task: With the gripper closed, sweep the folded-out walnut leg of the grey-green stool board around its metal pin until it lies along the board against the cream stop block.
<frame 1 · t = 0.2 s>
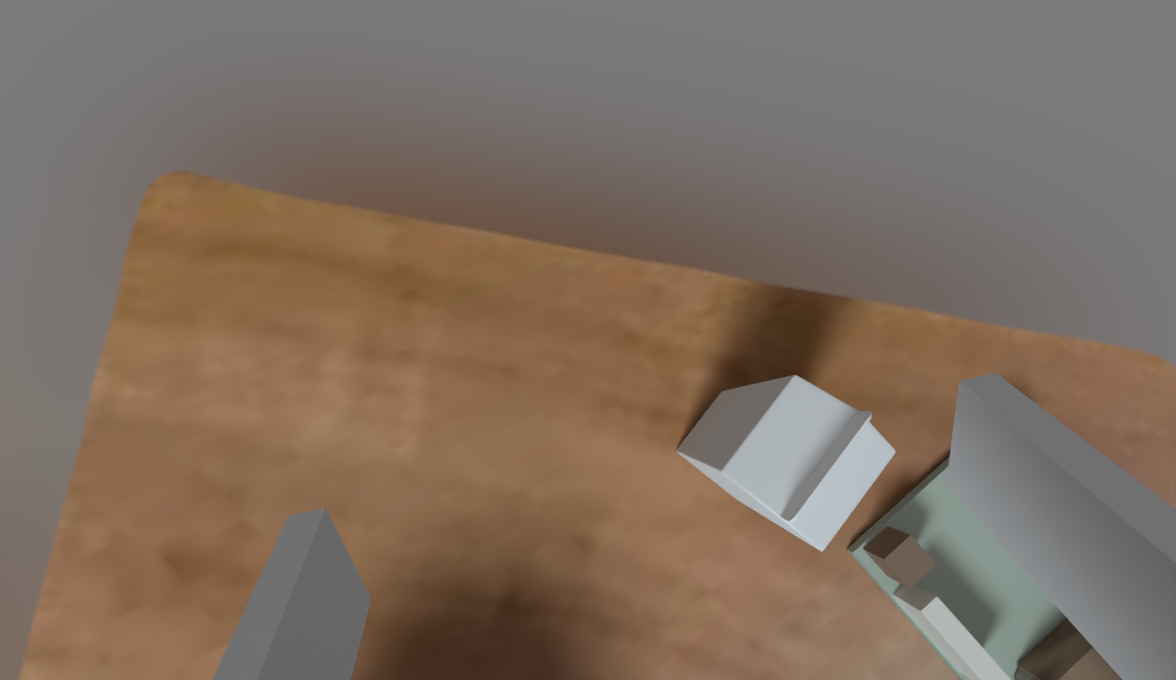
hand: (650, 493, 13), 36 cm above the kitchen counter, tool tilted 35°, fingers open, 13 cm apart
hinged leg: (1099, 647, 43), point 3 cm above the kitchen counter, hinge at -90.0°
stool seat: (999, 572, 46), on the kitchen counter
milk: (728, 444, 48), on the kitchen counter
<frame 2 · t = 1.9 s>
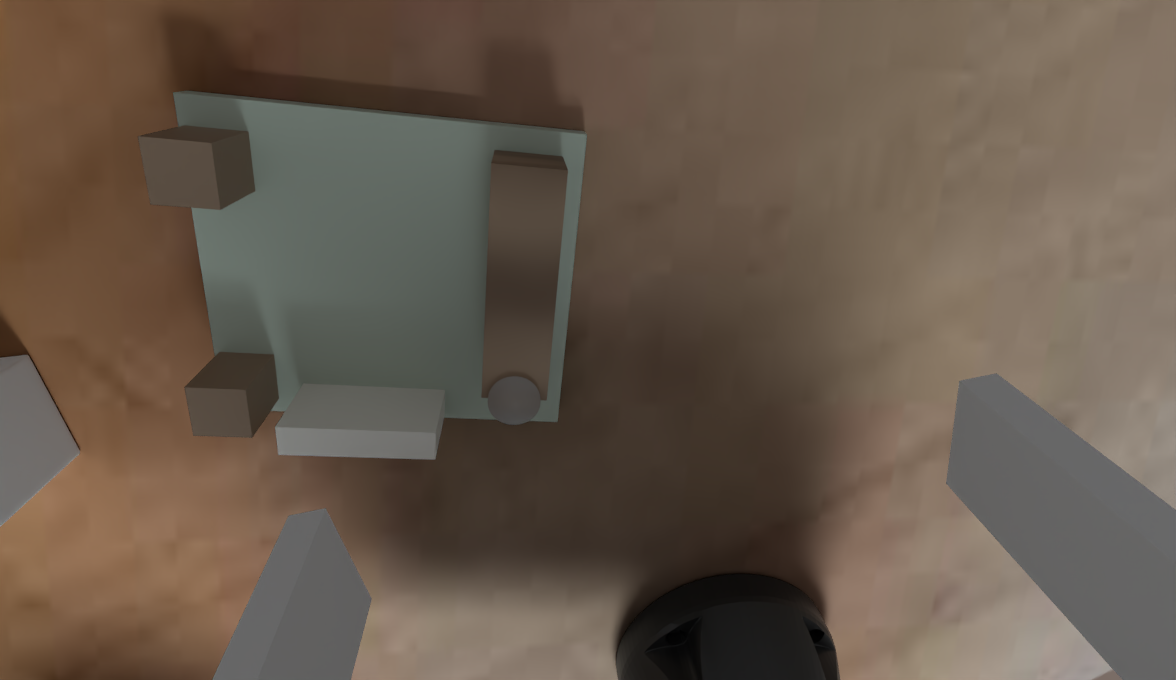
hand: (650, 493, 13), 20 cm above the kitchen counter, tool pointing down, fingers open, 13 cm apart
hinged leg: (520, 292, 28), point 3 cm above the kitchen counter, hinge at -90.0°
stool seat: (397, 272, 31), on the kitchen counter
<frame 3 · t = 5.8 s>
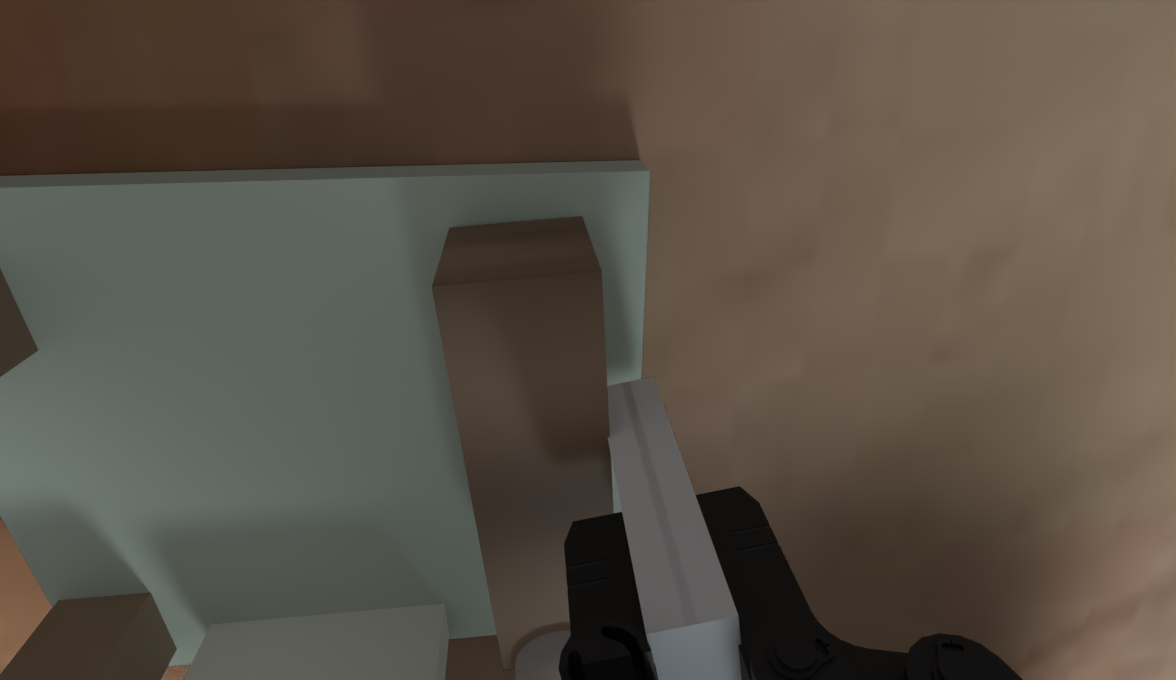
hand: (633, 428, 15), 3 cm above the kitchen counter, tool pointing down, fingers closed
hinged leg: (543, 478, 15), point 3 cm above the kitchen counter, hinge at -86.8°, touching gripper
stool seat: (337, 435, 18), on the kitchen counter
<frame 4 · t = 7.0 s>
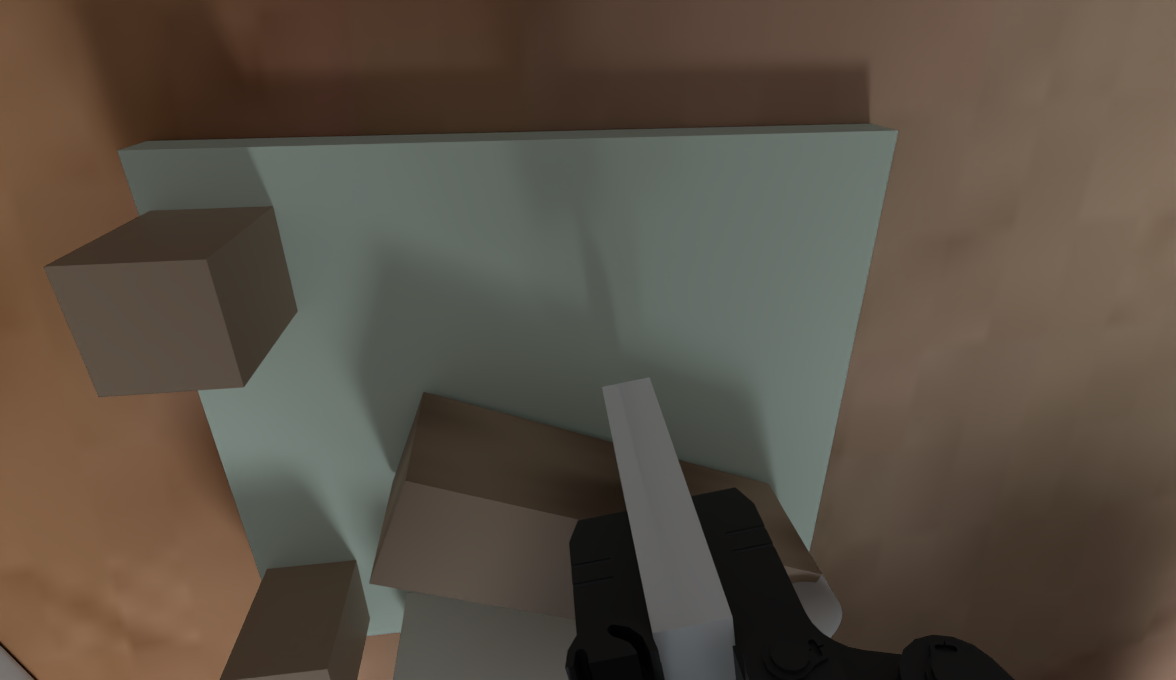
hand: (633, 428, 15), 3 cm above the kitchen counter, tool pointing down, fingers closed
hinged leg: (620, 534, 16), point 3 cm above the kitchen counter, hinge at -22.6°, touching gripper
stool seat: (544, 401, 18), on the kitchen counter
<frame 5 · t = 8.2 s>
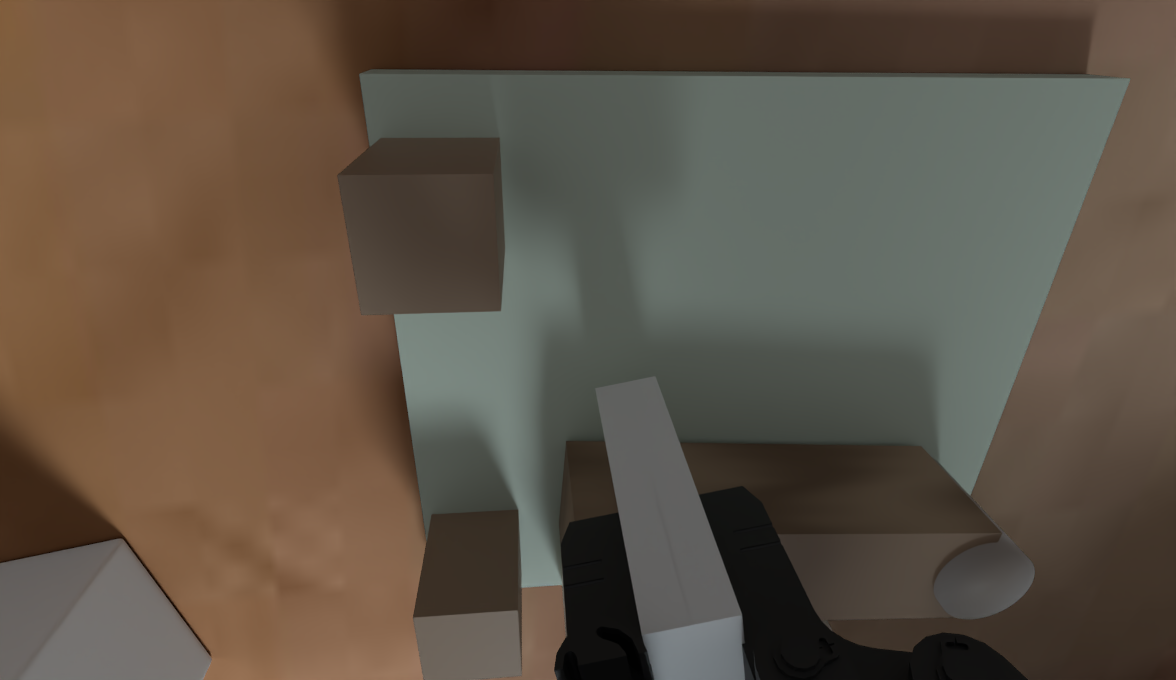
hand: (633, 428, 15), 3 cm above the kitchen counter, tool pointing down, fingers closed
hinged leg: (783, 532, 17), point 3 cm above the kitchen counter, hinge at -4.3°, touching gripper
stool seat: (714, 355, 18), on the kitchen counter
milk: (86, 614, 20), on the kitchen counter
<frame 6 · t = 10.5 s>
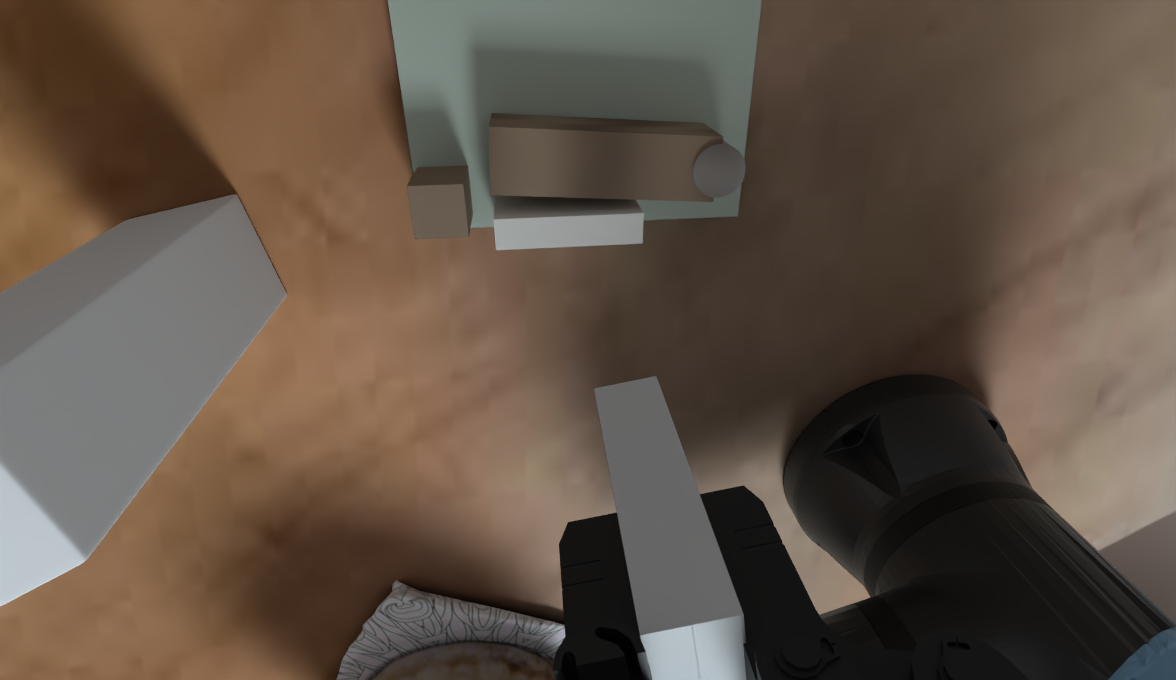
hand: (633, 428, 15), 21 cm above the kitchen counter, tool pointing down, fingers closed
hinged leg: (614, 158, 30), point 3 cm above the kitchen counter, hinge at -4.1°
stool seat: (578, 68, 31), on the kitchen counter
milk: (212, 257, 34), on the kitchen counter
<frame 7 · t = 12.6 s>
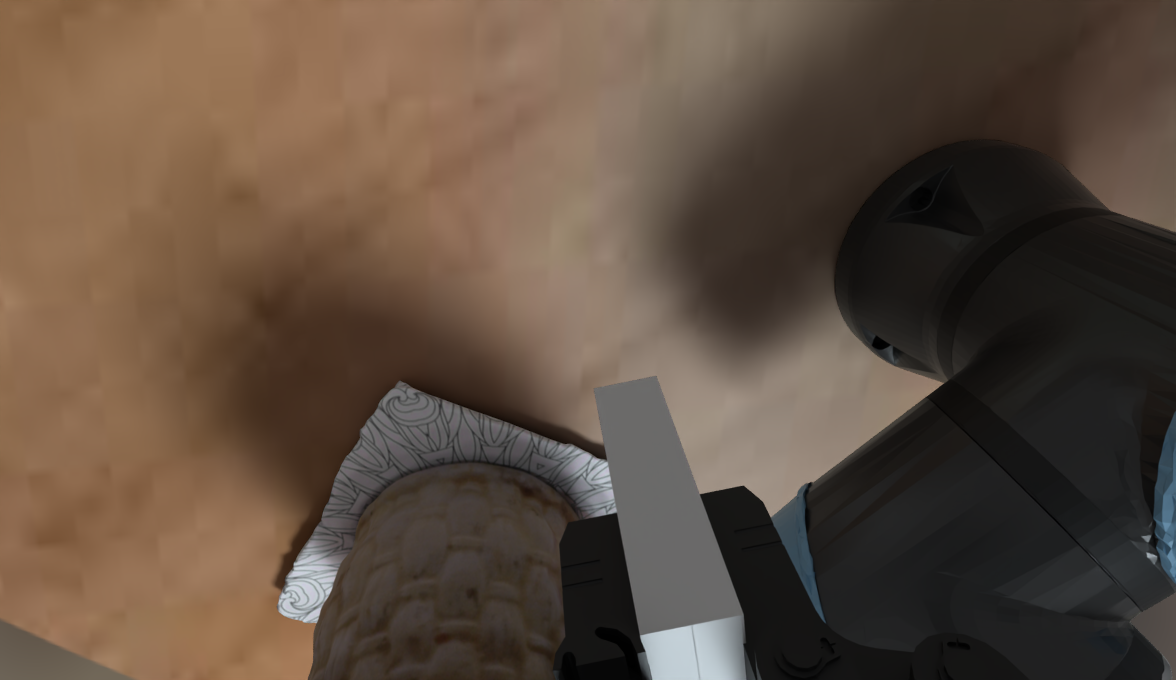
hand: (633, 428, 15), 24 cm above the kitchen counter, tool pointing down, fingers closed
cookie jar: (480, 540, 49), on the kitchen counter
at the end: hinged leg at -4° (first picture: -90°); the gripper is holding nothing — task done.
